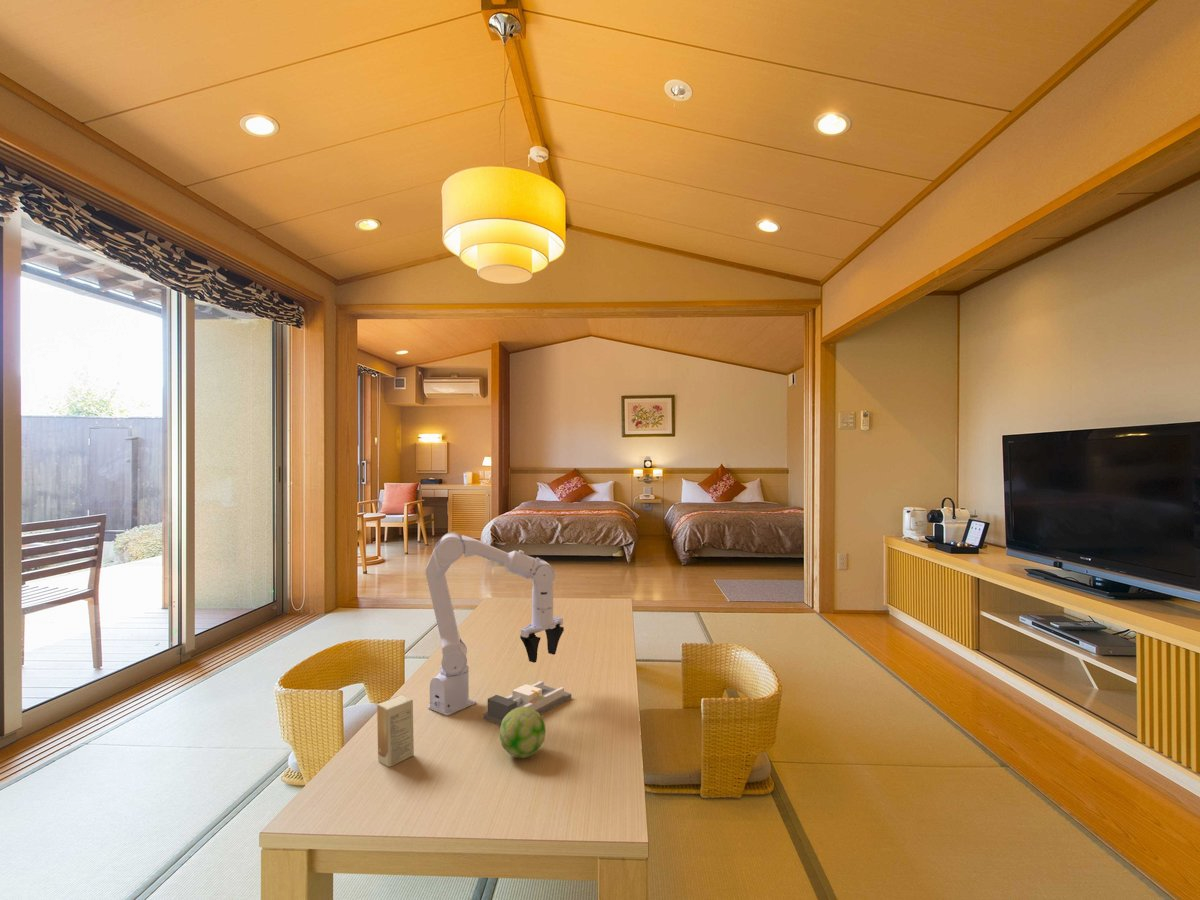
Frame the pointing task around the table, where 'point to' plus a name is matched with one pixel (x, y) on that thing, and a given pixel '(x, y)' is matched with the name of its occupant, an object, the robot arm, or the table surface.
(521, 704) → the gauge carriage
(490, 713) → the gauge base
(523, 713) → the decorative ball
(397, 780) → the table surface
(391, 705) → the skincare box
